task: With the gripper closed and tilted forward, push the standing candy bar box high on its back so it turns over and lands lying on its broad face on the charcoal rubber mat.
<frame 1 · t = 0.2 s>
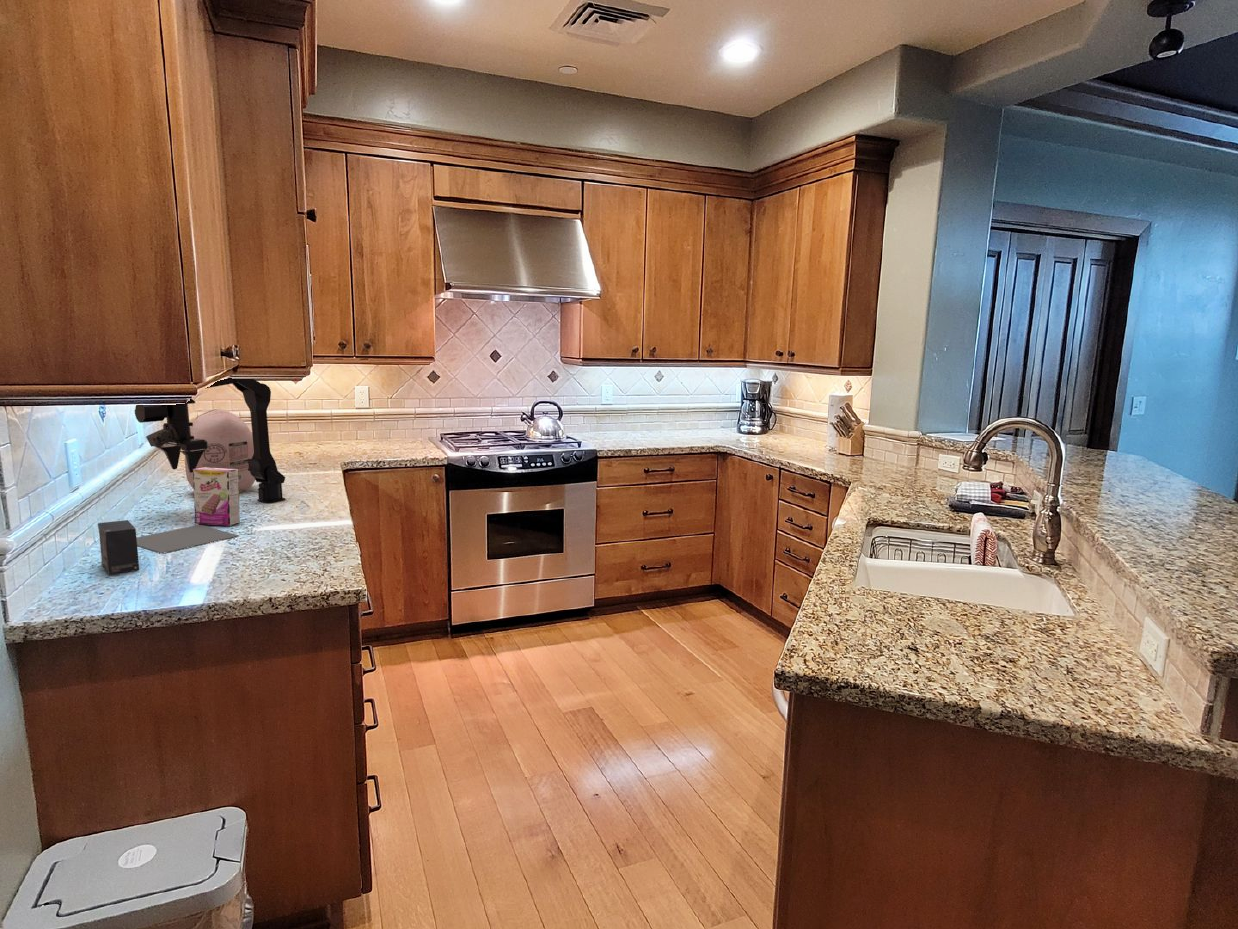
hand: (183, 470, 211), 14 cm above the worktop, tool pointing down, fingers open, 9 cm apart
small box: (121, 568, 167), on the worktop
candy bar box: (217, 524, 206), on the worktop, touching mat
packaged food: (224, 493, 246), on the worktop
mat: (182, 538, 191), on the worktop
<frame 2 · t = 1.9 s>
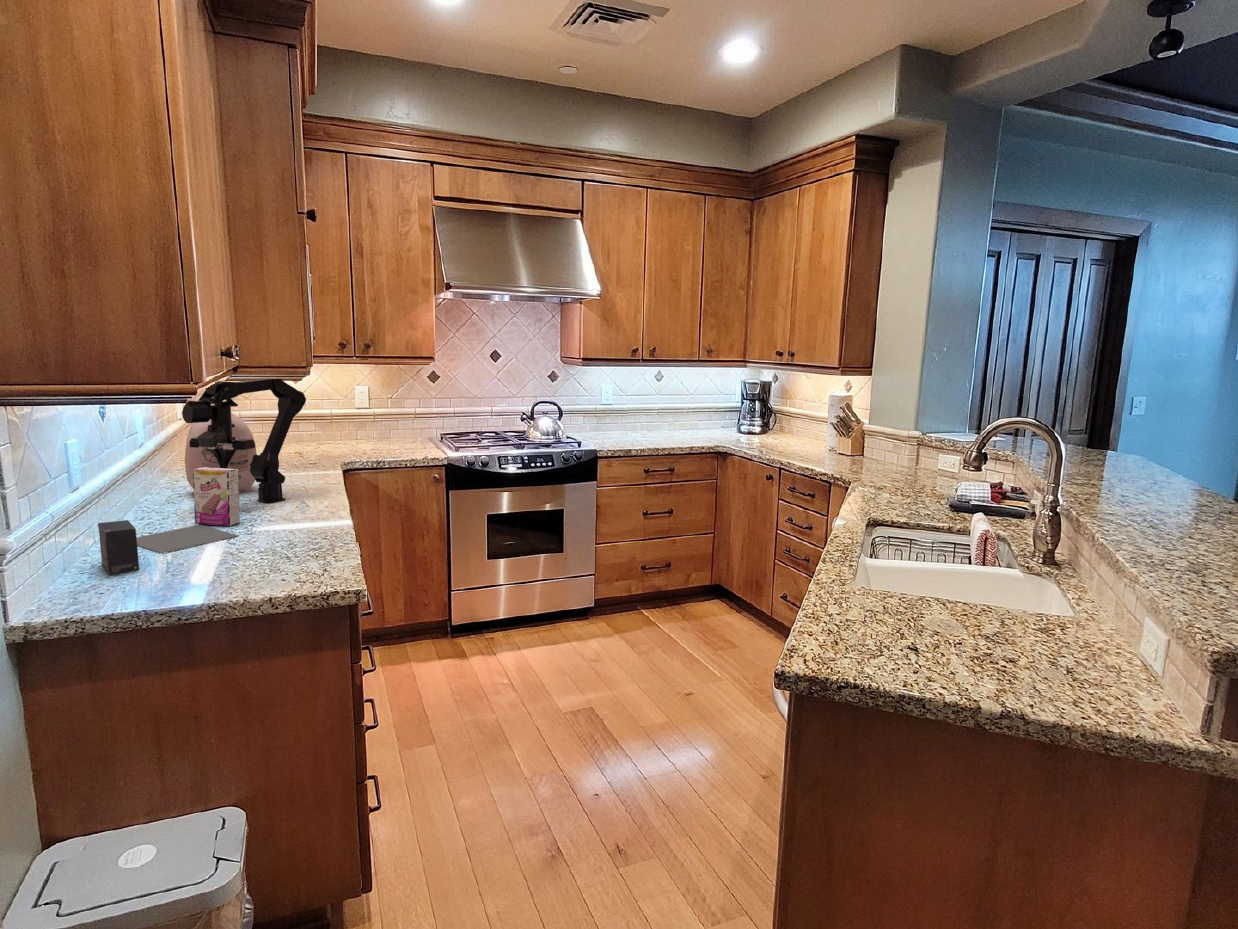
hand: (223, 470, 221), 13 cm above the worktop, tool pointing down, fingers closed
nothing on the worktop moved.
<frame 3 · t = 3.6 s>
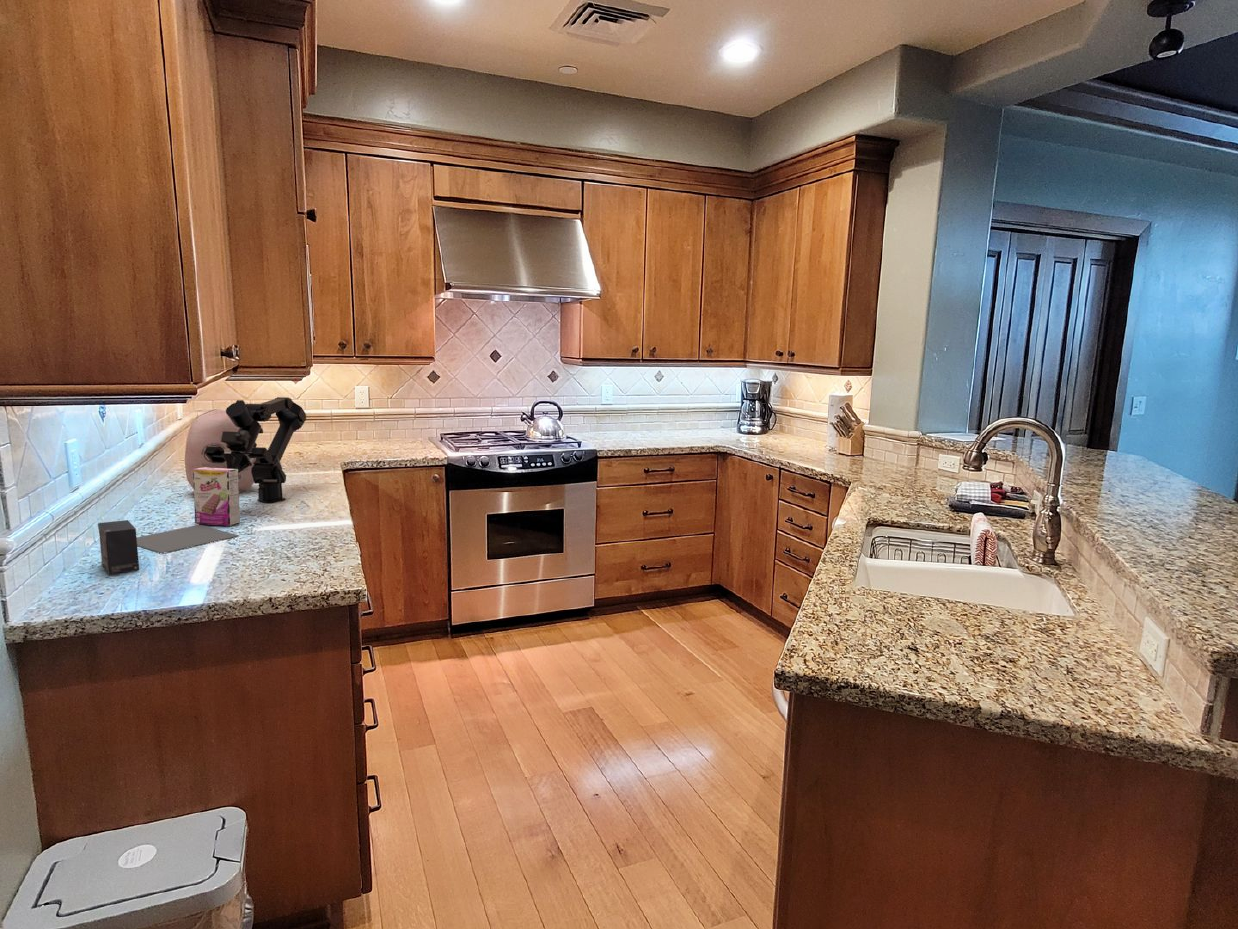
hand: (229, 477, 211), 12 cm above the worktop, tool tilted 45°, fingers closed
nothing on the worktop moved.
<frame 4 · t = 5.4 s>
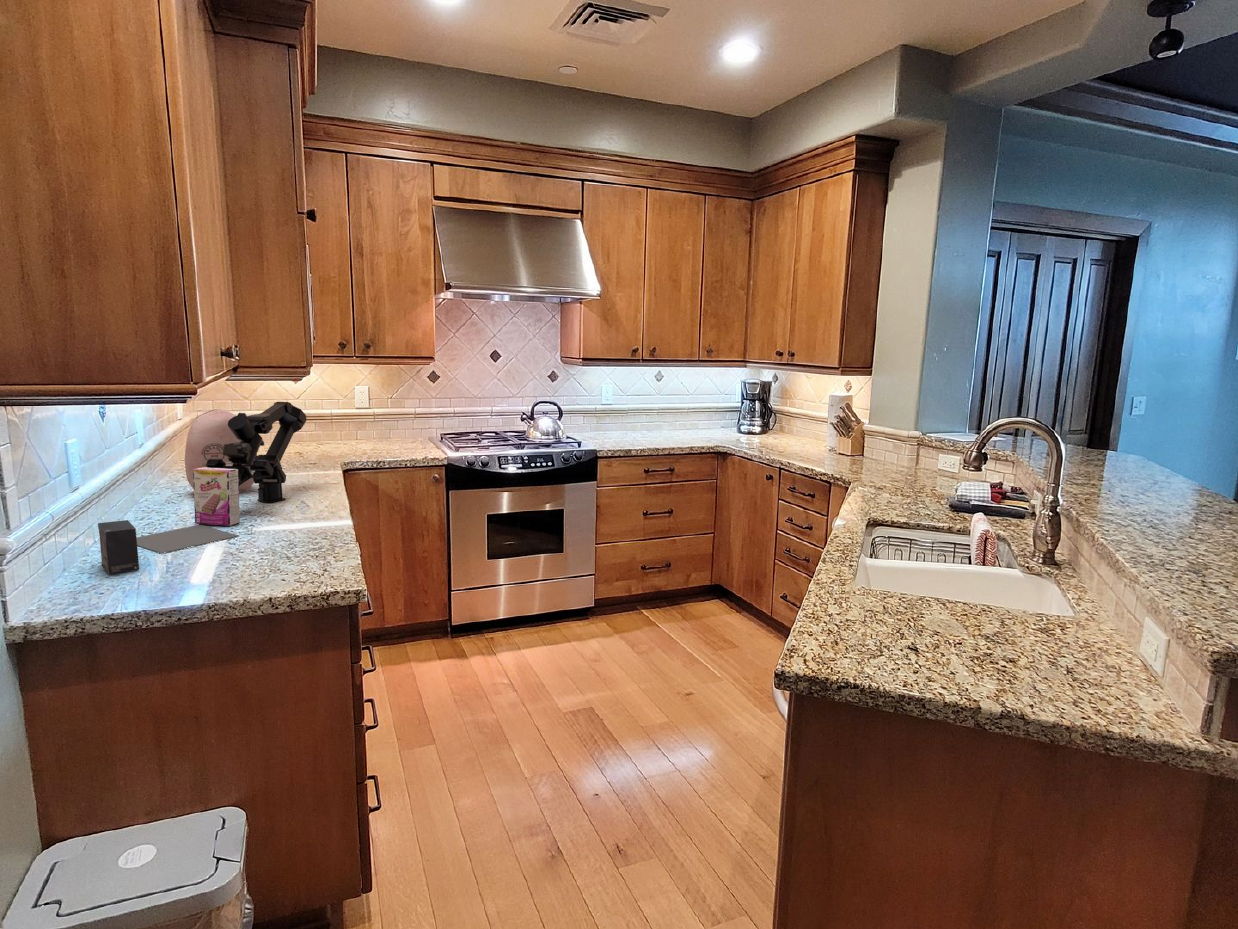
hand: (230, 490, 212), 9 cm above the worktop, tool tilted 45°, fingers closed
nothing on the worktop moved.
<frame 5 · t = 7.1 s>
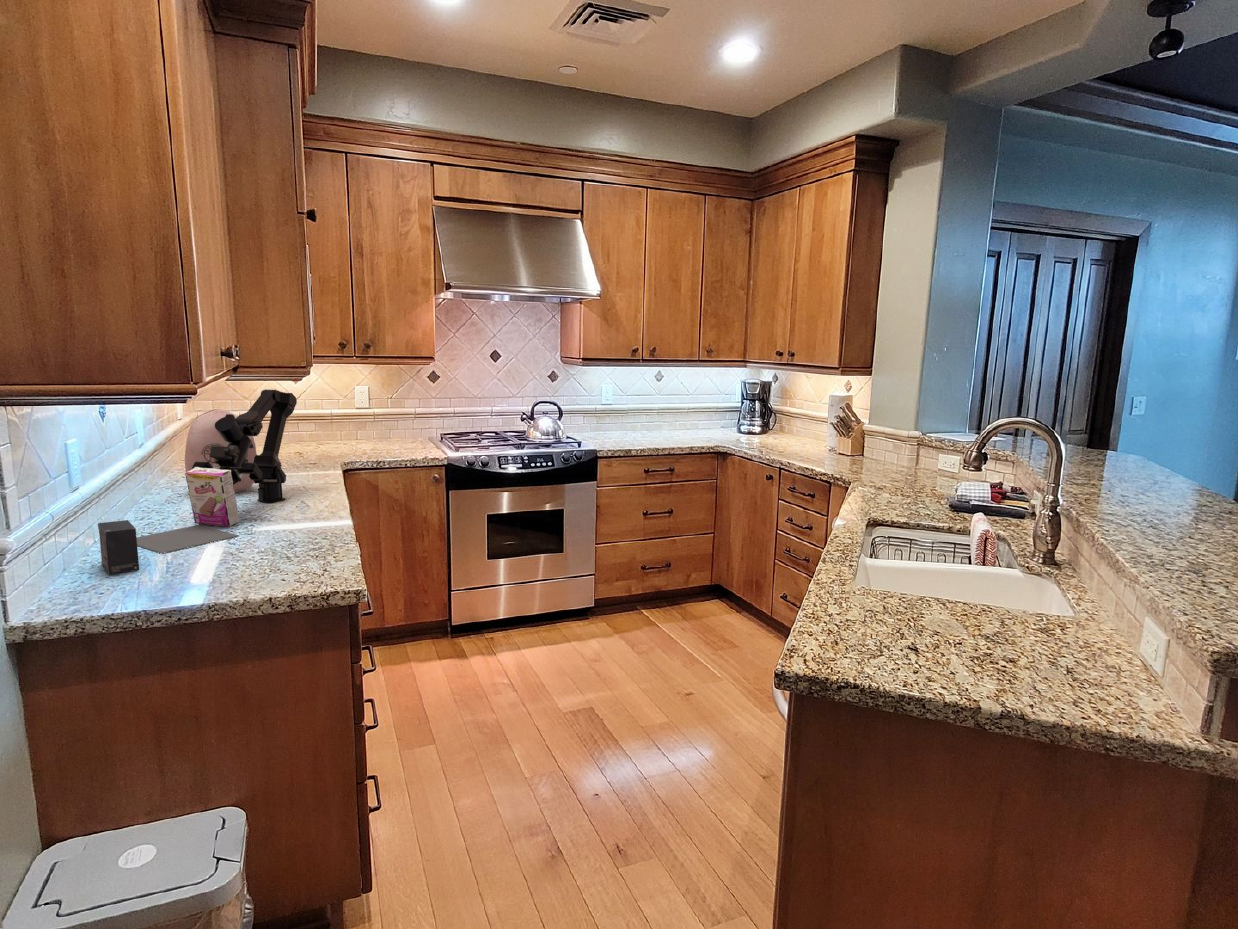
hand: (217, 494, 205), 9 cm above the worktop, tool tilted 45°, fingers closed
candy bar box: (217, 523, 206), on the worktop, touching gripper, mat
everything else where it was.
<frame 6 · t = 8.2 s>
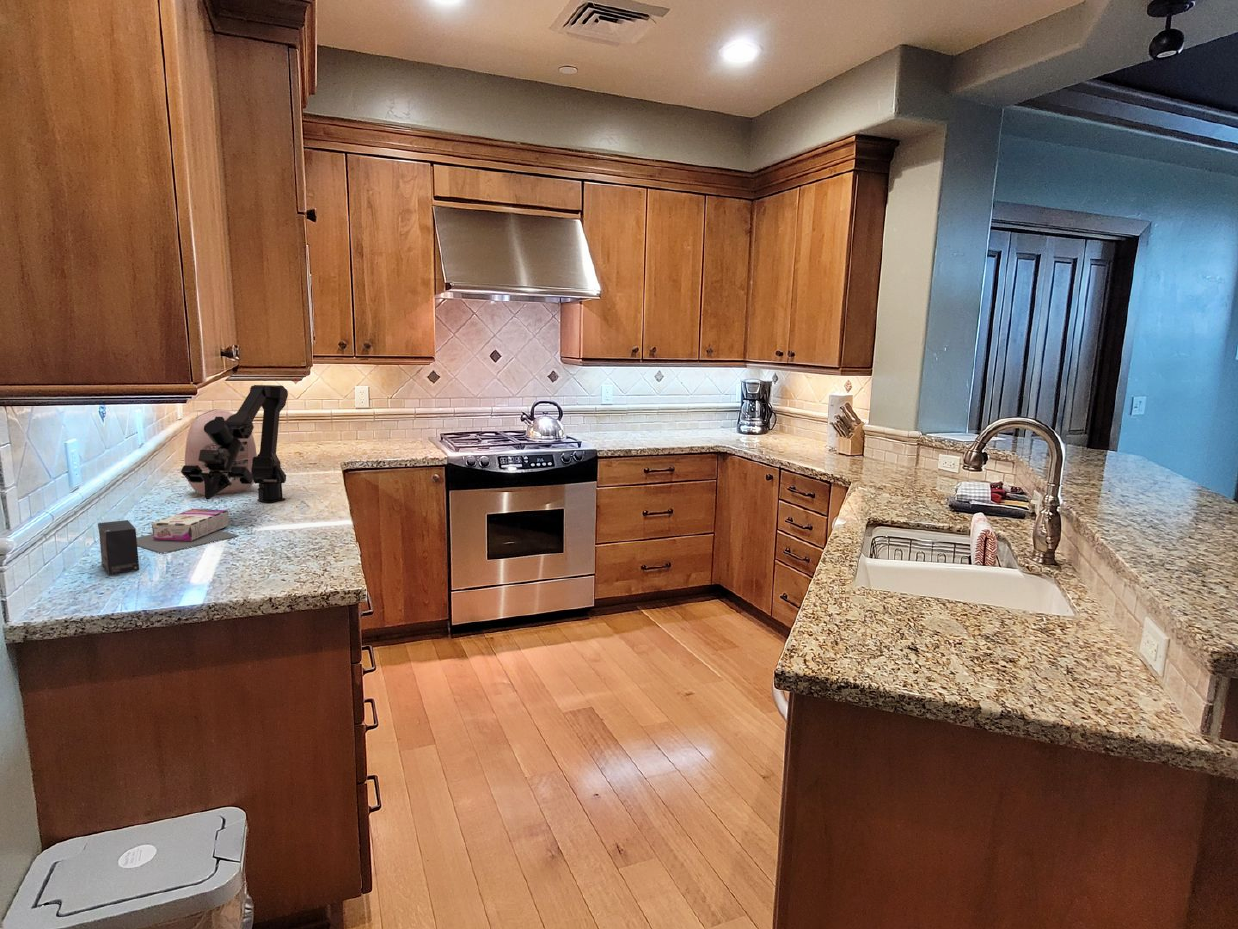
hand: (206, 498, 200), 9 cm above the worktop, tool tilted 45°, fingers closed
candy bar box: (212, 517, 203), point 3 cm above the worktop, touching mat
everything else where it was.
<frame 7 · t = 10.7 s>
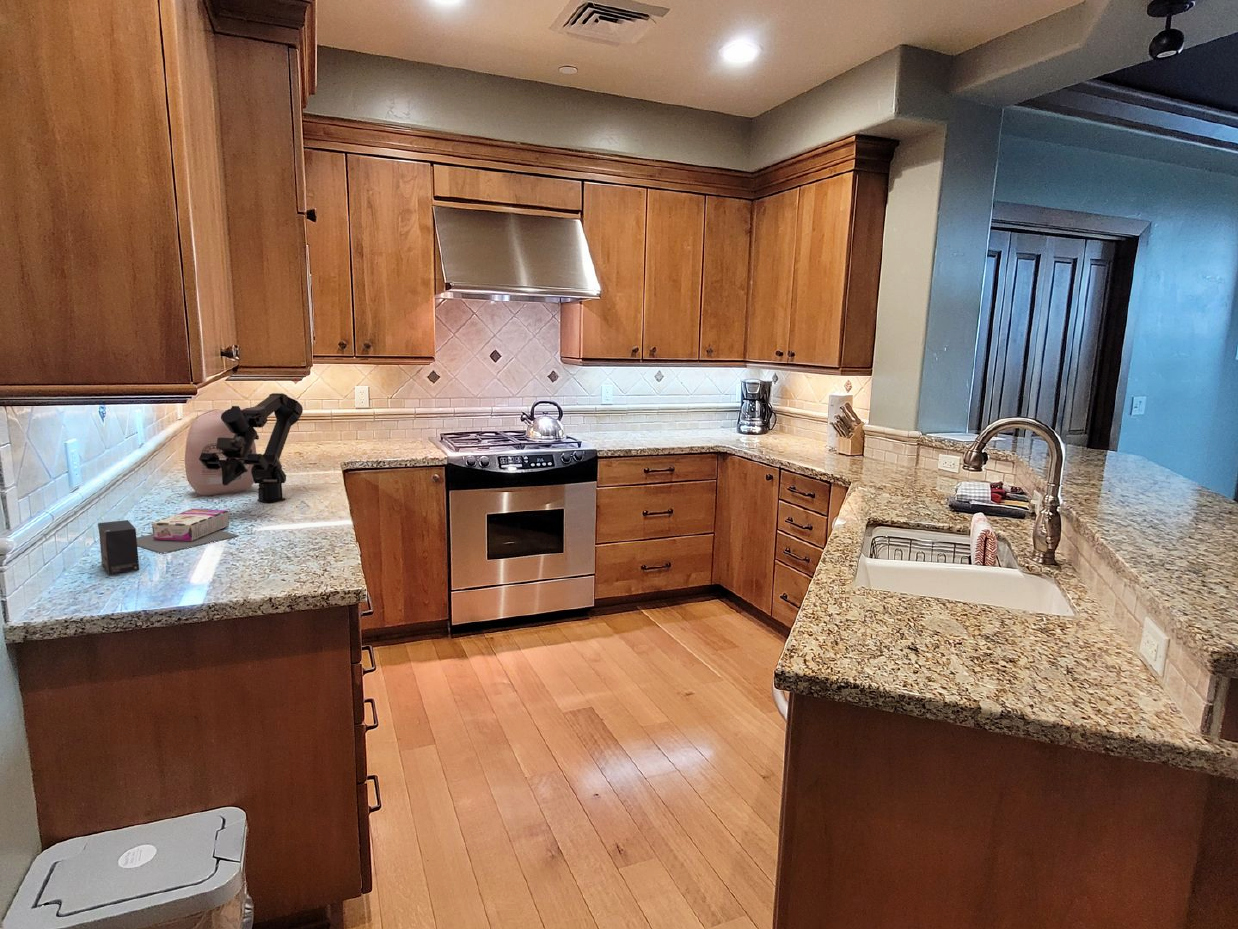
hand: (224, 484, 209), 11 cm above the worktop, tool tilted 45°, fingers closed
nothing on the worktop moved.
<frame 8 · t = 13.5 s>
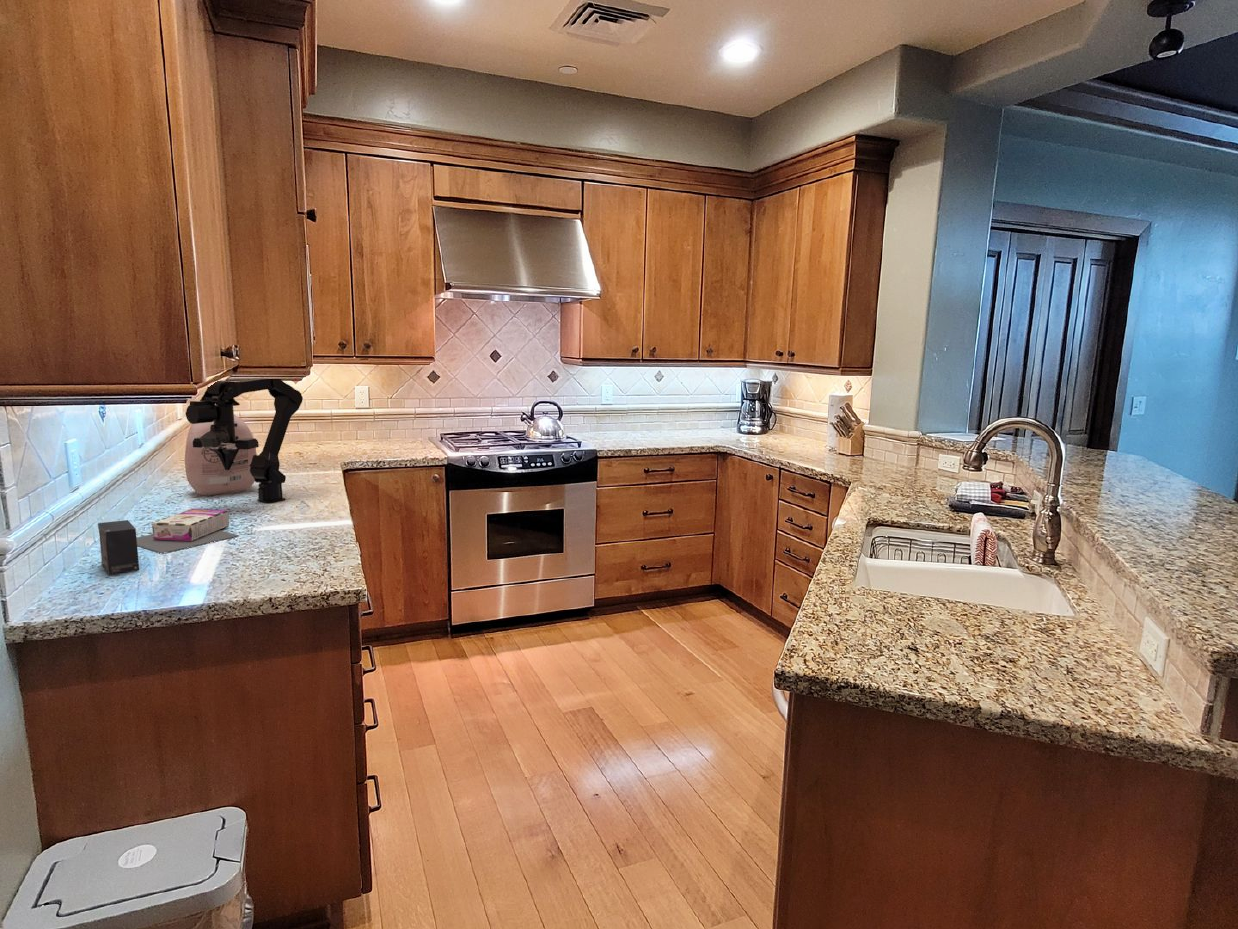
hand: (227, 469, 221), 13 cm above the worktop, tool pointing down, fingers closed
nothing on the worktop moved.
at the end: candy bar box tilted 89°; candy bar box touching mat; the gripper is holding nothing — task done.
